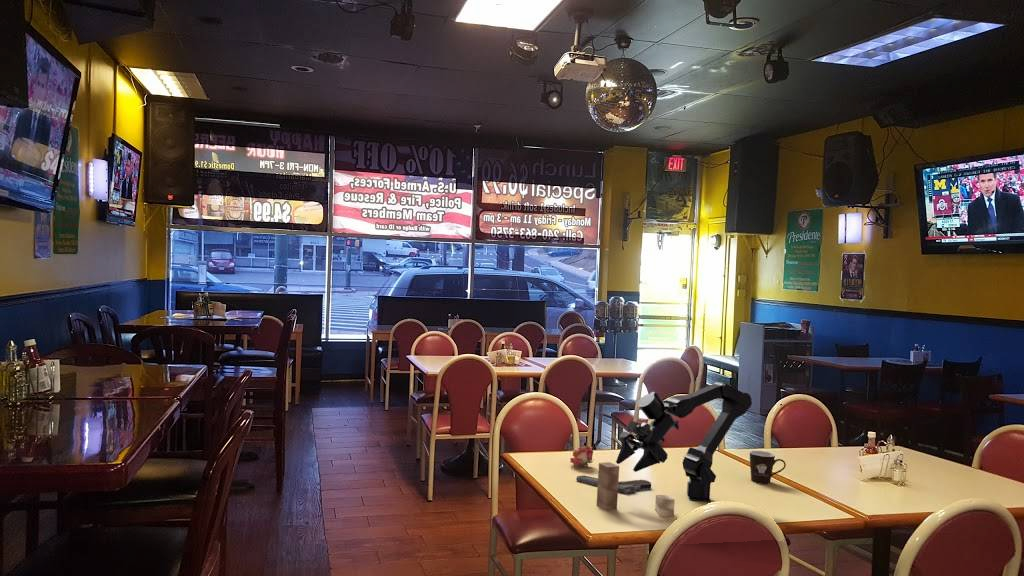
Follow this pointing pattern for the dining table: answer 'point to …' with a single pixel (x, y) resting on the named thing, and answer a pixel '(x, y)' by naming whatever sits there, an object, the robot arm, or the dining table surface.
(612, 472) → the walnut block
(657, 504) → the maple block
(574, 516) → the dining table surface
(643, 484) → the handgun
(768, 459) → the coffee mug
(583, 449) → the flower
